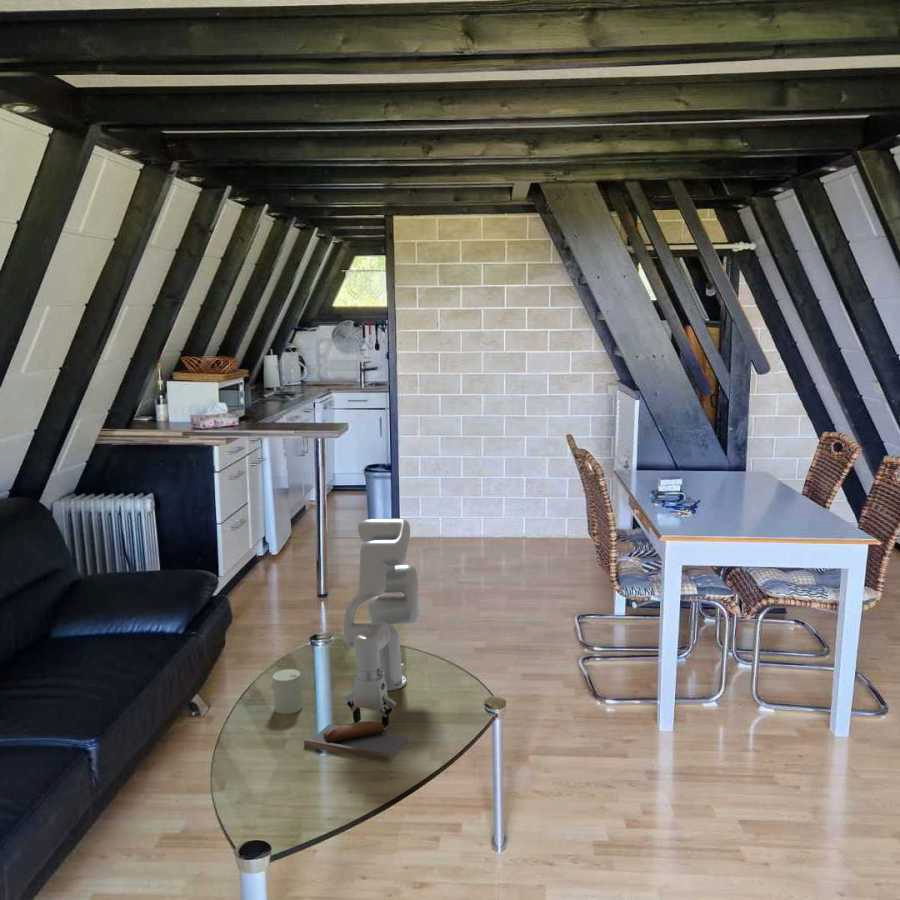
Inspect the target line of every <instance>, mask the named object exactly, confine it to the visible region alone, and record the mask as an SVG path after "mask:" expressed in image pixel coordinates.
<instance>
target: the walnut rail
mask: <svg viewBox="0 0 900 900" xmlns="http://www.w3.org/2000/svg"><path fill="white" fill-rule="evenodd" d="M303 746H304V747H306V748H311V749H316V750H321V751H328V752H330V753H331V752H332V753H336V754H342V755H347V756H352V757H357V758H358V757H359V758H364V759H369V760H373V761H377V762H378V761H379V762H384V763H389V762H390V761H391V759H390V756H389V754H388V753H382V752H377V751H372V750H366V749H361V748H356V747H350V746H345V745H340V744H334V743H329V742H324V741H318V740H313V738H307V737H306V738H304V739H303Z"/></svg>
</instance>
